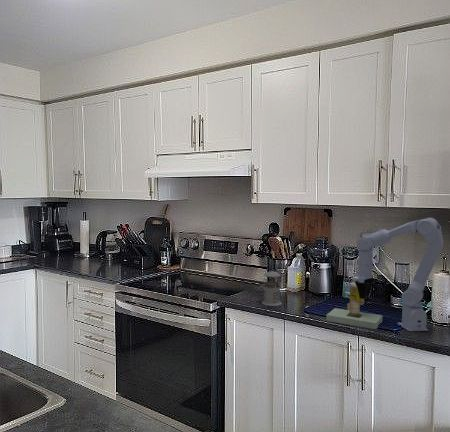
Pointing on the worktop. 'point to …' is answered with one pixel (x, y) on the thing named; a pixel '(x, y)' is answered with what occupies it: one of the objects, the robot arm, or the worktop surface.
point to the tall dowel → (354, 309)
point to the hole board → (354, 318)
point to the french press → (272, 288)
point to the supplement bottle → (355, 291)
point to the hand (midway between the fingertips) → (364, 296)
